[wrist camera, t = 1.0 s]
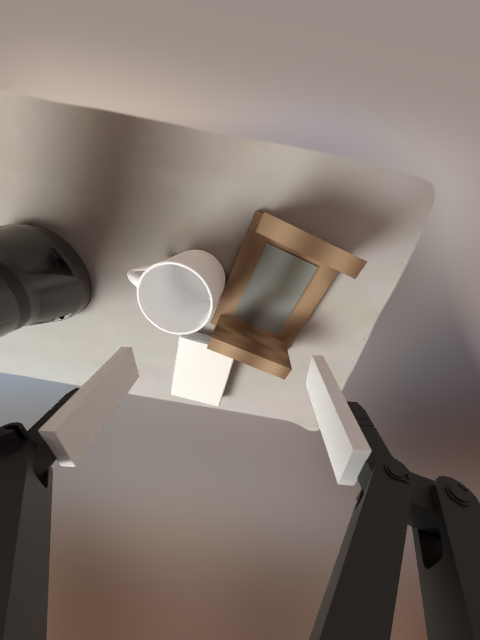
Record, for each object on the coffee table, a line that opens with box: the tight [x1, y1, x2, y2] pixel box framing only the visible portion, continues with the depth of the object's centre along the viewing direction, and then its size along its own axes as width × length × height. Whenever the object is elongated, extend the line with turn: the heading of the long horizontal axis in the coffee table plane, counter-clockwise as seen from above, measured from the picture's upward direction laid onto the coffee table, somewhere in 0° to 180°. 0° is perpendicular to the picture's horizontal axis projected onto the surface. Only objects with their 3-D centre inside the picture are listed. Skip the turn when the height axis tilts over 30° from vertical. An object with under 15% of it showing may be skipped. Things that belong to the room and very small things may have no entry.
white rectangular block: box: [170, 332, 234, 406], centre depth 39 cm, size 10×14×3 cm
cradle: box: [207, 211, 367, 379], centre depth 29 cm, size 14×18×8 cm
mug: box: [127, 250, 225, 335], centre depth 27 cm, size 9×12×11 cm
